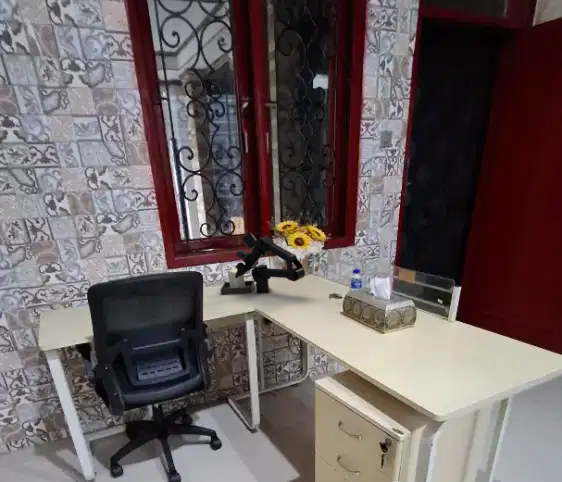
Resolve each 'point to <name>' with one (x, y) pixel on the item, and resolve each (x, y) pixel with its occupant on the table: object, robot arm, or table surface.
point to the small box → (235, 279)
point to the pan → (247, 289)
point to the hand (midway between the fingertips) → (239, 275)
